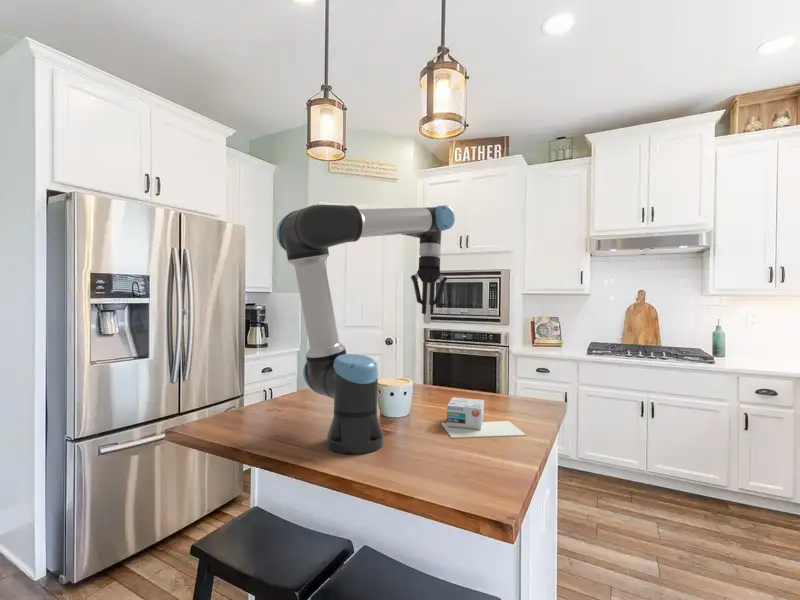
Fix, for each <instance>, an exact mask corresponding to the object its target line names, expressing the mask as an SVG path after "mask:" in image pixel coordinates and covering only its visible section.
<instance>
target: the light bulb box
mask: <svg viewBox="0 0 800 600" xmlns="http://www.w3.org/2000/svg"><path fill="white" fill-rule="evenodd" d="M484 413H485V400H484V399H477V398H475V399H474V398H464V397H454V396H452V397H451V399H450V401H449V402H448V403H447V405H446V423H447V426H448V427H461V428H470V429H477V430H481V427H482V423H483V422H484V418H485V414H484Z"/></svg>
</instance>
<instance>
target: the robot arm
mask: <svg viewBox="0 0 800 600" xmlns="http://www.w3.org/2000/svg"><path fill="white" fill-rule="evenodd" d="M455 219H456V217H455V212H454V210H453V208H451V206H449V205H446V204H445V205H437V206H433V207H430V206H428V207H398V208H397V207H395V208H394V207H393V208H392V207H391V208H389V207H388V208H387V207H386V208H358V207H357V206H356V205H353V204H351V205H349V204H348V205H343V204H341V205H340V204H312V205H310V206H307V207H303V208H301V209H297V210H293V211H290V212H289V213H288V214H286V215H285V216H283V217H282V219H280V221H279V222H278V224H277V227H276V238H277V242H278V245H279V246H280V247H281V248H282V249H283V250H284V251H285V253H286V257H287V262H288V263H290V264H291V265H292V266H293V267H294V270H295V276H296V281H297V286H298V290H299V291H298V292H299V297H300V303H301V309H302V313H303V319H304V324H305V329H306V335H307V340H308V345H309V349H308V350H307V351H306V352H305V360H306V361H305V364H304V365H303V368H302V375H303V379H304V382H305V383H306V386H308V388H309V389H311V390H312V391H313V392H314V393H317V394H319V395H321V396H325V397H329V398H331V399H333V417H332V420H331V423H330V427H329V430H328V433H327V435H326V446H328V447H329V448H330V449H329V448H328V447H327V448H328V449H329V450H331V449H332V450H331V451H333V450H335V451H338V452H337V453H339V452H342V453H341V454H345V453H351V454H350V455H359V454H367V453H370V452H375V451H377V450H379V449H380V448H382V447H383V446H384V433H383V429H382V426H381V423H380V420H379V417H378V383H379V382H378V381H379V379H378V378H379V371H378V364H377V361H376V360H375V359H374V358H372V357H370V356H367V355H362V354H361V355H360V354H357V353H347V351H346V350H347V349H346V346H345V345H344V344H342V343H341V342H340V341H339V339H340V338H339V335H338V329H337V322H336V318H335V317H336V316H335V312H334V311H335V310H334V306H333V301H332V299H333V298H332V294H331V288H330V282H329V277H328V271H327V266H326V260H327V259H328V257H330V252H329V248H330V247H334V246H339V245H342V244H345V243H353V242H354V243H355V242H357V241H358V242H359V240H360V238H368V237H369V238H371V237H378V236H379V237H380V236H395V235H401V236H407V237H413V238H418V239H419V248H418V250H419V251H418V254H419V255H418V256H419V257H418V269H417V271H416V273H414V274H412V275H411V276H410V279H411V281H412V283H413V288H414V294H415V298H416V302H417V303H418V304H420V305H421V315H422V314H423V315H424V320H423V324H424V325H430V324H431V315H433V314H434V306H435V305H438V304H439V303H440V300H441V296H442V293H443V289H444V284H445V283H446V282H447V280H448V278H447V276H444V275H443V274H442V271H441V258H440V257H441V253H442V251H441V249H442V248H441V247H442V245H441V243H442V232H443V231H446V230H450V229H451V228H452V227H453V226H454V224H455V221H456V220H455ZM418 279H420V281H421V282H422V283H421V284H422V293H421V291H420V290H421V289H420V287H419V281H418ZM438 279H439V282H438V283H439V284H438V287H437V291H436V292H435V286H436V285H435V284H436V282H437V281H438ZM428 284H429V293H428ZM421 294H422V296H421ZM428 295H429V296H428ZM427 297H429V298H427ZM427 299H428V300H427ZM427 301H428V303H429V304H427ZM335 451H334V452H335Z"/></svg>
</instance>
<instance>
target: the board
mask: <svg viewBox="0 0 800 600" xmlns="http://www.w3.org/2000/svg"><path fill="white" fill-rule="evenodd" d="M441 426H442V428H445V429H444V430H445V431H446V433H447V434H448V435H450V436H449V437H450V438H451V439H465V438H466V439H467V438H496V437H497V438H498V437H523V436H524V437H525V436H527V435H526V433H525V432H523V431H522V430H521V429H520V428H518V427H517V426H515V425H514V424H513V423H512V422H510V421H509V420H504V421H500V420H498V421H497V420H496V421H483V423H482V427H481V430H477V429H470V428H461V427H448V426H447V422H441Z"/></svg>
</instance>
